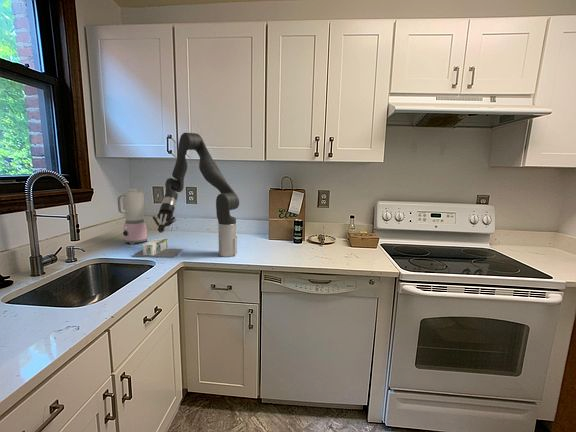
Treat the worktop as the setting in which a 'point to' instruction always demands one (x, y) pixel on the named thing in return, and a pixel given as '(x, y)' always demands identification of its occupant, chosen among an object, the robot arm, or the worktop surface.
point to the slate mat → (160, 253)
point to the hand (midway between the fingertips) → (160, 231)
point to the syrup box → (155, 246)
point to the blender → (133, 216)
